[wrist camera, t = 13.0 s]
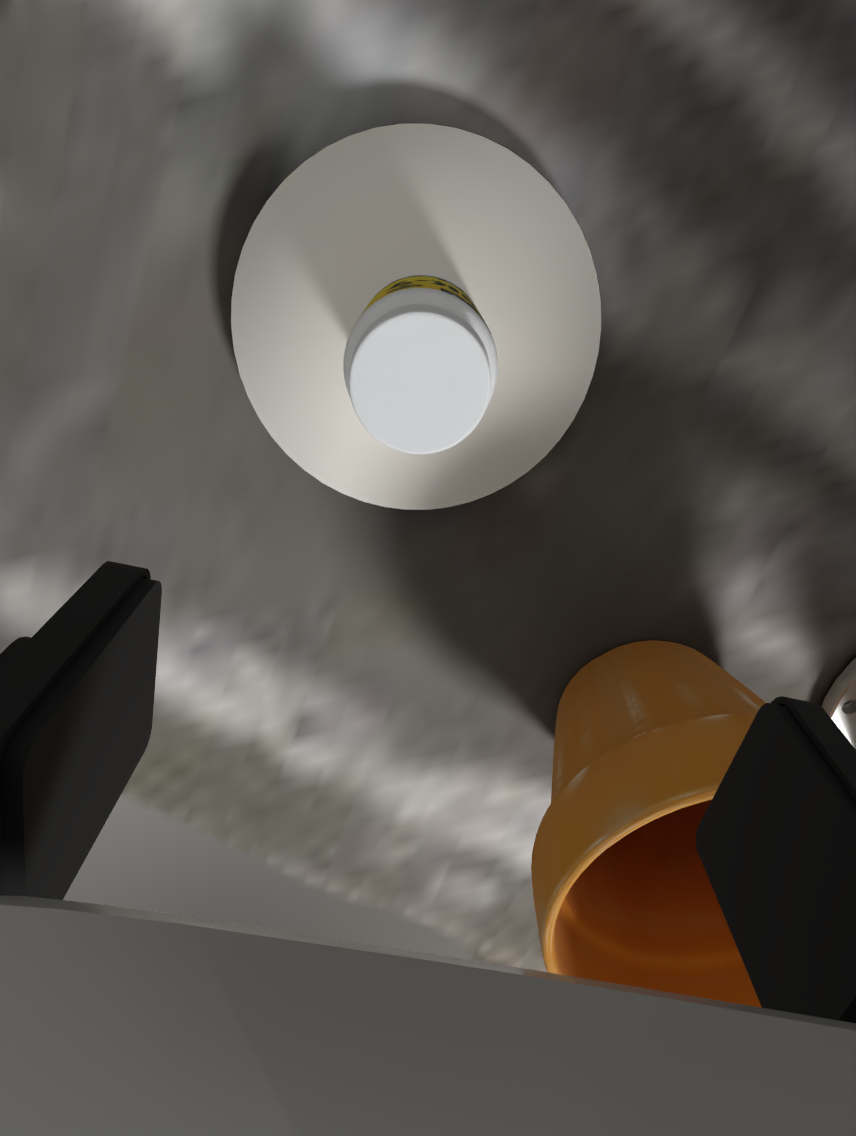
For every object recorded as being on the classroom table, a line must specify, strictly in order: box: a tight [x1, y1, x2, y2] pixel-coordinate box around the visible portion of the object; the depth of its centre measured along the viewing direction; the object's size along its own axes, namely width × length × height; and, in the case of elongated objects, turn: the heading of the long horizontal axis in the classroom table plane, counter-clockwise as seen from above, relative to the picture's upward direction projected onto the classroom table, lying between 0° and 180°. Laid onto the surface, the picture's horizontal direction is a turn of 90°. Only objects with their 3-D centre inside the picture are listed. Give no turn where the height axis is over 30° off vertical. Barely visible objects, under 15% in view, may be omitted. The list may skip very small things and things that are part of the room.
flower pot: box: [531, 640, 766, 1008], centre depth 31 cm, size 14×14×13 cm
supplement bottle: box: [343, 275, 498, 454], centre depth 24 cm, size 5×5×8 cm
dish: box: [231, 123, 601, 510], centre depth 28 cm, size 14×14×2 cm
